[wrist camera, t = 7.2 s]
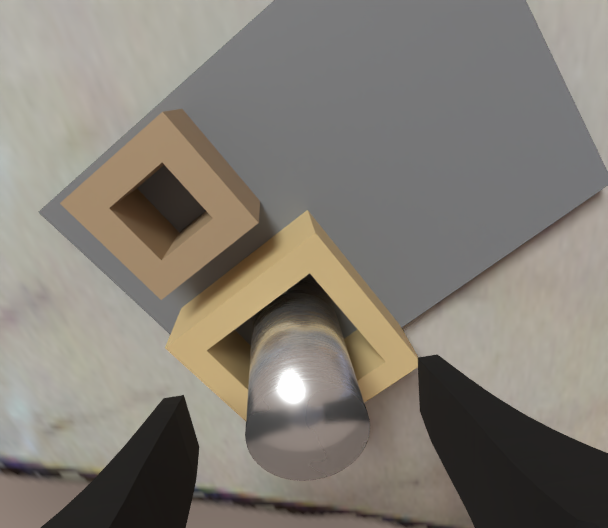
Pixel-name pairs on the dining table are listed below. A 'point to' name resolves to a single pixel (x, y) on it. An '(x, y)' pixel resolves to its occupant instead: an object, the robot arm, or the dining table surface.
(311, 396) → the metal round peg
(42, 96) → the dining table surface
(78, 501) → the robot arm
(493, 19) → the fitting board
